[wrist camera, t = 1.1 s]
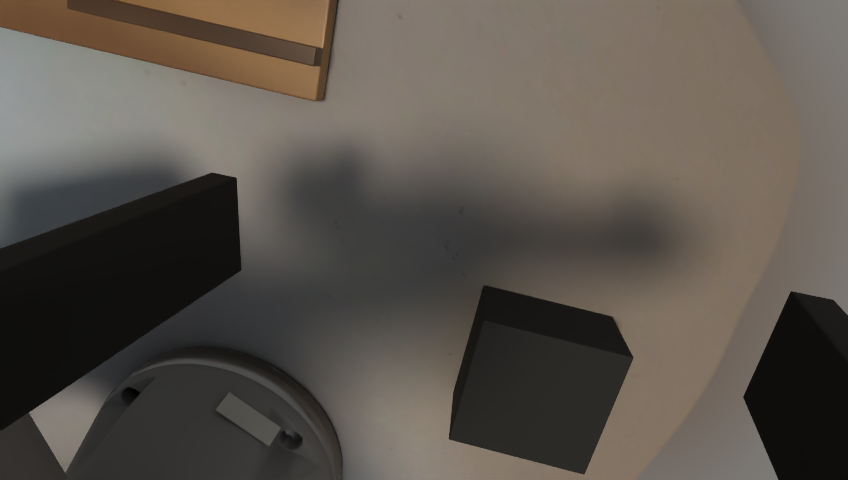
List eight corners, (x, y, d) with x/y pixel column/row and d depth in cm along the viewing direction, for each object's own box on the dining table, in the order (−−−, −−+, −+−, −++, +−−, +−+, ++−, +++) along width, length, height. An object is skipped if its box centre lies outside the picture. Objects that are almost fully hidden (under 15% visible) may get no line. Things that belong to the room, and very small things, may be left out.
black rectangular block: (571, 422, 29) (584, 475, 25) (453, 392, 29) (448, 439, 25) (612, 316, 27) (633, 357, 23) (483, 285, 27) (483, 320, 23)
